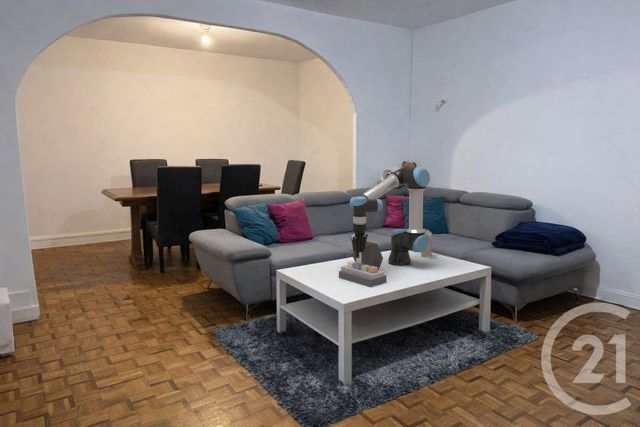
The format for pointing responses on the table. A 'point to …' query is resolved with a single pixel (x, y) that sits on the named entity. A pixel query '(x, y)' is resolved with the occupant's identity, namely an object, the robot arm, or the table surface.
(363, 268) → the key sage
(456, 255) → the table surface
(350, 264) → the key ivory
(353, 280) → the console
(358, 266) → the key slate
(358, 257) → the robot arm
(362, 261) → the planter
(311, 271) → the table surface
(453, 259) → the table surface
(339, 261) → the table surface
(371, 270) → the key terracotta
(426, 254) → the candle
